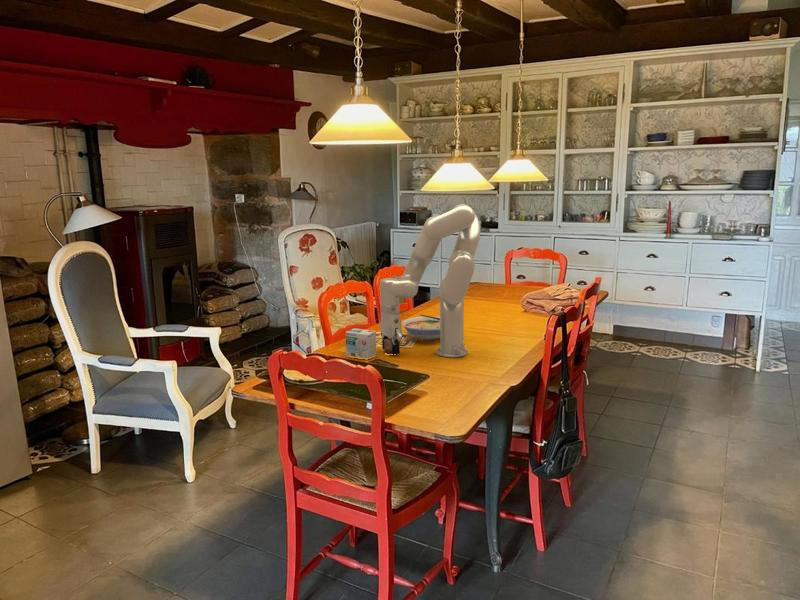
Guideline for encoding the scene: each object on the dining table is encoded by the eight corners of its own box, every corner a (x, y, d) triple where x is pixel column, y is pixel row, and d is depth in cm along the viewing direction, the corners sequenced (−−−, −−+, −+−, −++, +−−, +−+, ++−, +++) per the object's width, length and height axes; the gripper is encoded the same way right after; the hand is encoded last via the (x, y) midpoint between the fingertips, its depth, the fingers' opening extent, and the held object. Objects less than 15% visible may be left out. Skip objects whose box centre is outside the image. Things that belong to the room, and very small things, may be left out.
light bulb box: (345, 357, 237) (344, 331, 235) (354, 353, 243) (353, 327, 240) (368, 361, 232) (367, 334, 230) (377, 356, 238) (376, 330, 236)
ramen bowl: (390, 337, 264) (389, 320, 263) (427, 328, 279) (427, 311, 277) (428, 349, 246) (428, 330, 244) (466, 339, 260) (466, 321, 258)
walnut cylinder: (400, 354, 240) (400, 339, 238) (388, 356, 237) (388, 342, 236) (393, 351, 244) (393, 336, 243) (381, 353, 242) (381, 338, 240)
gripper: (409, 312, 231) (409, 355, 235) (387, 304, 246) (388, 344, 250) (392, 314, 228) (393, 358, 231) (371, 306, 242) (372, 347, 246)
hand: (391, 351), depth 240 cm, fingers open, 7 cm apart
